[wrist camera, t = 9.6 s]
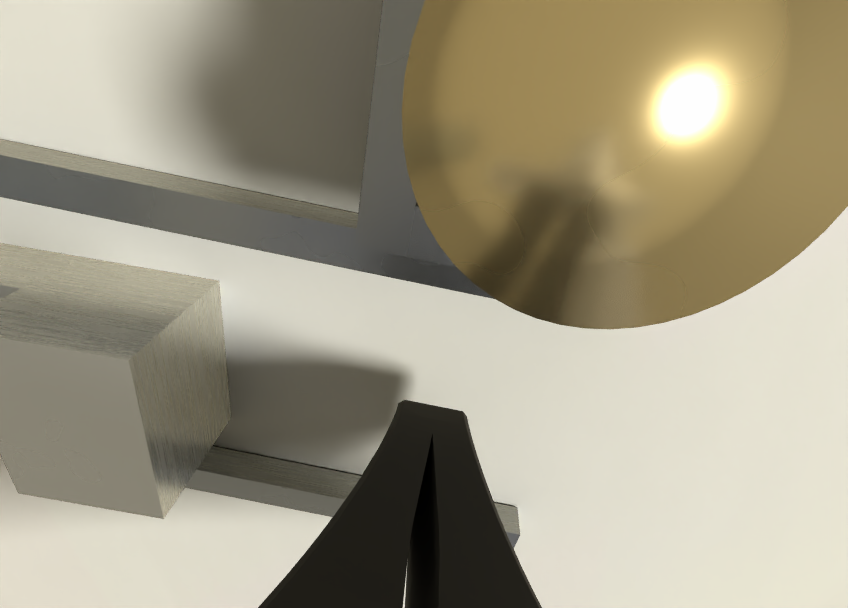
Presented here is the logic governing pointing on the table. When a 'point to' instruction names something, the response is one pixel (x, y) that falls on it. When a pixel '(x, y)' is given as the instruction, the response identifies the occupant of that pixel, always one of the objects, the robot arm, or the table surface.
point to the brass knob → (626, 147)
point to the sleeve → (242, 226)
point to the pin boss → (392, 150)
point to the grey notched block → (107, 379)
